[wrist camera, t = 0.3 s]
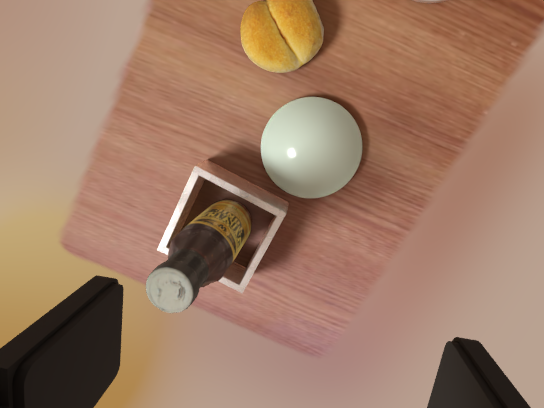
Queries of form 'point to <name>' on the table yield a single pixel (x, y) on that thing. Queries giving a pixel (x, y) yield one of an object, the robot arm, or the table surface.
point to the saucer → (311, 147)
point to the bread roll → (281, 33)
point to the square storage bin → (208, 170)
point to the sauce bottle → (199, 255)
